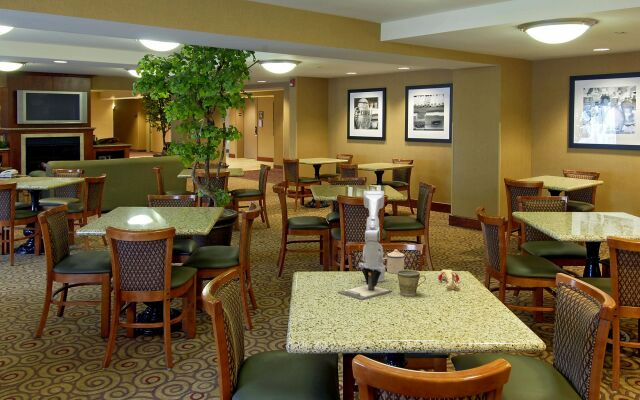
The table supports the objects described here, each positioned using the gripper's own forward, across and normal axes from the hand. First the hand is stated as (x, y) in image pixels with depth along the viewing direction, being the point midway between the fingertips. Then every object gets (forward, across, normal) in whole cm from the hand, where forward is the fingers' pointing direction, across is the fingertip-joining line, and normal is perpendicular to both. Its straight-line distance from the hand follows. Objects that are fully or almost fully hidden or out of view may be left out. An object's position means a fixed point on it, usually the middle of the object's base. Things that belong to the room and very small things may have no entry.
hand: (371, 285), depth 271 cm
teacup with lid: (+3, -19, +37) cm, 42 cm away
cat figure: (+3, +15, +38) cm, 41 cm away
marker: (+2, 0, 0) cm, 2 cm away
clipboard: (+3, -1, -3) cm, 4 cm away
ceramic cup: (+3, +15, +10) cm, 18 cm away
